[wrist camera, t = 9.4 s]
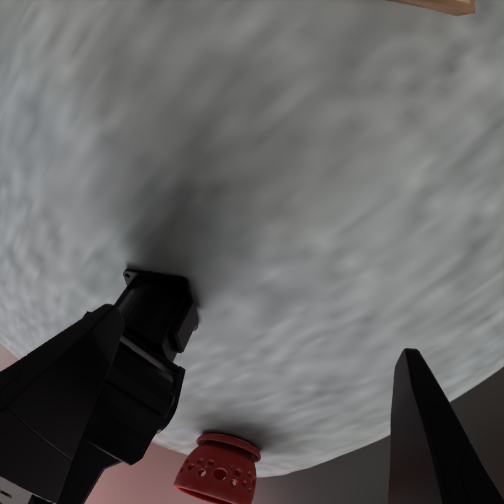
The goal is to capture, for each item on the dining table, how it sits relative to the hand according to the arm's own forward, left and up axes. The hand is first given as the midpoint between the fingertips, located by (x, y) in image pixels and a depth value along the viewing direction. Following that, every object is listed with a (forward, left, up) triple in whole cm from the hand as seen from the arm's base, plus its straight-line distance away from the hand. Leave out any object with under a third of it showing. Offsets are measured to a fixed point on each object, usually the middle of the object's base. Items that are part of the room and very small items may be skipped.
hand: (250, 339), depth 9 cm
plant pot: (-9, -49, -13) cm, 52 cm away
